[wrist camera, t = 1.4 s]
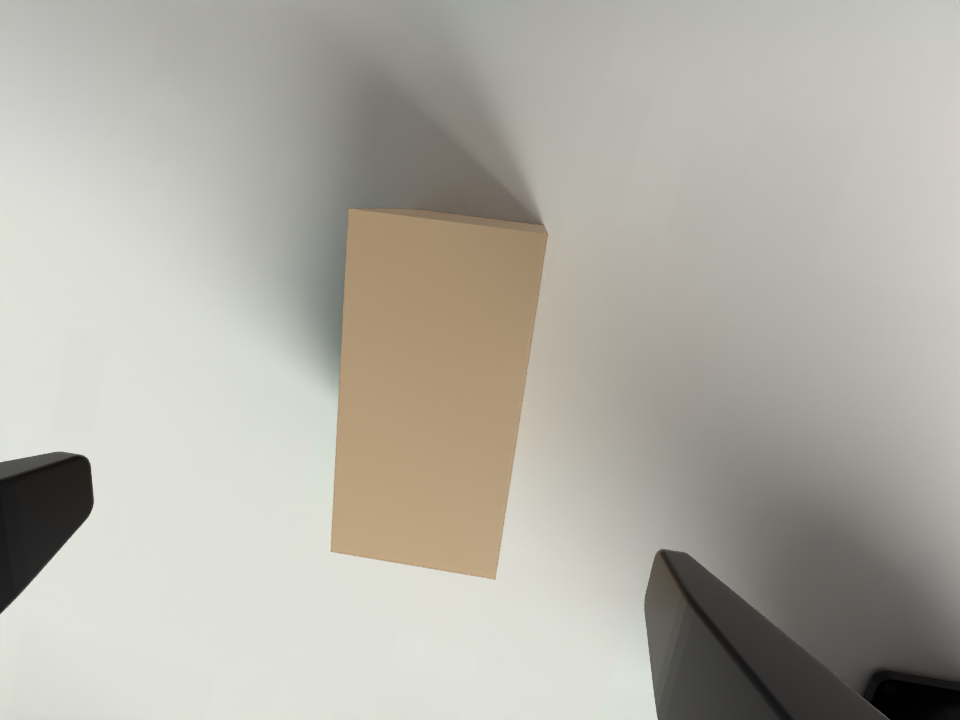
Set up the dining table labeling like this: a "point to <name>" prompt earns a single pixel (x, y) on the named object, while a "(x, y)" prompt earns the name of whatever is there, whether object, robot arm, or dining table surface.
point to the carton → (432, 384)
